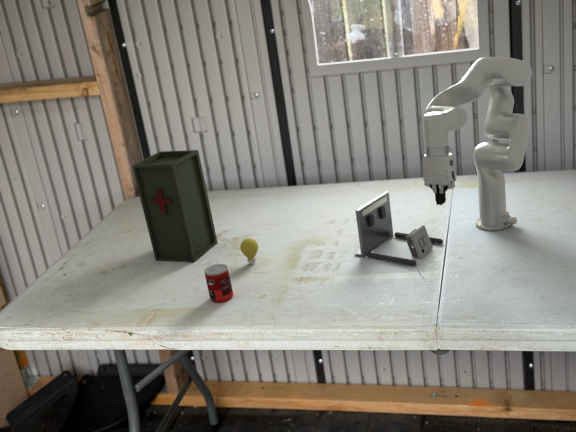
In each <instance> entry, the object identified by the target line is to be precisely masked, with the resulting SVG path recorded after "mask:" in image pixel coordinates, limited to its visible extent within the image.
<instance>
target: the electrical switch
mask: <svg viewBox="0 0 576 432" xmlns="http://www.w3.org/2000/svg"><path fill="white" fill-rule="evenodd" d="M407 234H408V235H407V236H406V237H405V239H404V240H405V241H406V244H407V247H408V249H409V252H410V255H411V258H416V257H418V259H423V258H424V257H425V256H426V255H427V254H428V253H429V252H431V251H432V249H433V245H432V244H433V243H431V241H430V239H429V237H430V236H429V234H428V231H427V228H426V226H425V225H420V226H419V227H418V228H415V229H413V230H412V231H411V232H409V233H407Z"/></svg>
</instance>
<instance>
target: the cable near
mask: <svg viewBox="0 0 576 432" xmlns="http://www.w3.org/2000/svg"><path fill="white" fill-rule="evenodd" d="M365 257H366V258H368V259H374V260H379V261H385V262H389V263H390V262H391V263H394V264H400V265H405V266H412V267H415V266H417V260H415V259H410V258H409V259H408V258H405V257H398V256H392V255H387V254H383V253H382V254H380V253H376V252H368V253H367V254H366V256H365Z"/></svg>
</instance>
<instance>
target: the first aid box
mask: <svg viewBox="0 0 576 432" xmlns="http://www.w3.org/2000/svg"><path fill="white" fill-rule="evenodd" d="M131 166H132V171H133V174H134V178H135V182H136V188H137V190H138V193H139V198H140V203H141V206H142V207H141V208H142V211H143V214H144V218H145V222H146V226H147V231H148V235H149V240H150V243H151V247H152V251H153V255H154V260H155V261H157V262H173V263H174V262H175V263H196V262H197V261H199V259H200V258H201V257H203V256H205V254H206V253H208V252H209V251H210V250H211V249H213V248H214V247H215V246H216V245H217V244H218V239H217V233H216V228H215V224H214V219H213V214H212V210H211V206H210V200H209V197H208V196H209V194H208V191H207V185H206V181H205V177H204V176H205V175H204V171H203V167H202V162H201V157H200V152H199V149H193V150H192V149H191V150H189V149H188V150H168V151H166V150H162V151H158V152H156V153H154V154H153V155H150V156H148V157H146V158H145V159H142V160H140V161H138V162H137V163H135V164H133V165H131Z"/></svg>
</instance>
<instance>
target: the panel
mask: <svg viewBox="0 0 576 432" xmlns="http://www.w3.org/2000/svg"><path fill="white" fill-rule="evenodd" d="M355 217H356V225H357V226H356V227H357V232H358V242H359V248H360V249H359V250H357V251H356V252H355V253H354V256H355V257H360V258H361V257H362V258H366V257H367V256H366V254H367V253H368V252H371V253H373V252H374V251H375V250H377V248H379V247H380V246H382V245H383V244H385V243H386V242H387V241H389V240H390V239H392V238H393V237H394V229H393V219H392V210H391V201H390V192H389V191H387V190H386V191H384V192H382V193H381V194H380V195H377V196H376V197H374V198H373V199H372V200H370V201H368V202H366V203H365V204H363V205H361V206H360V207H359V208H357V209H355Z"/></svg>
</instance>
